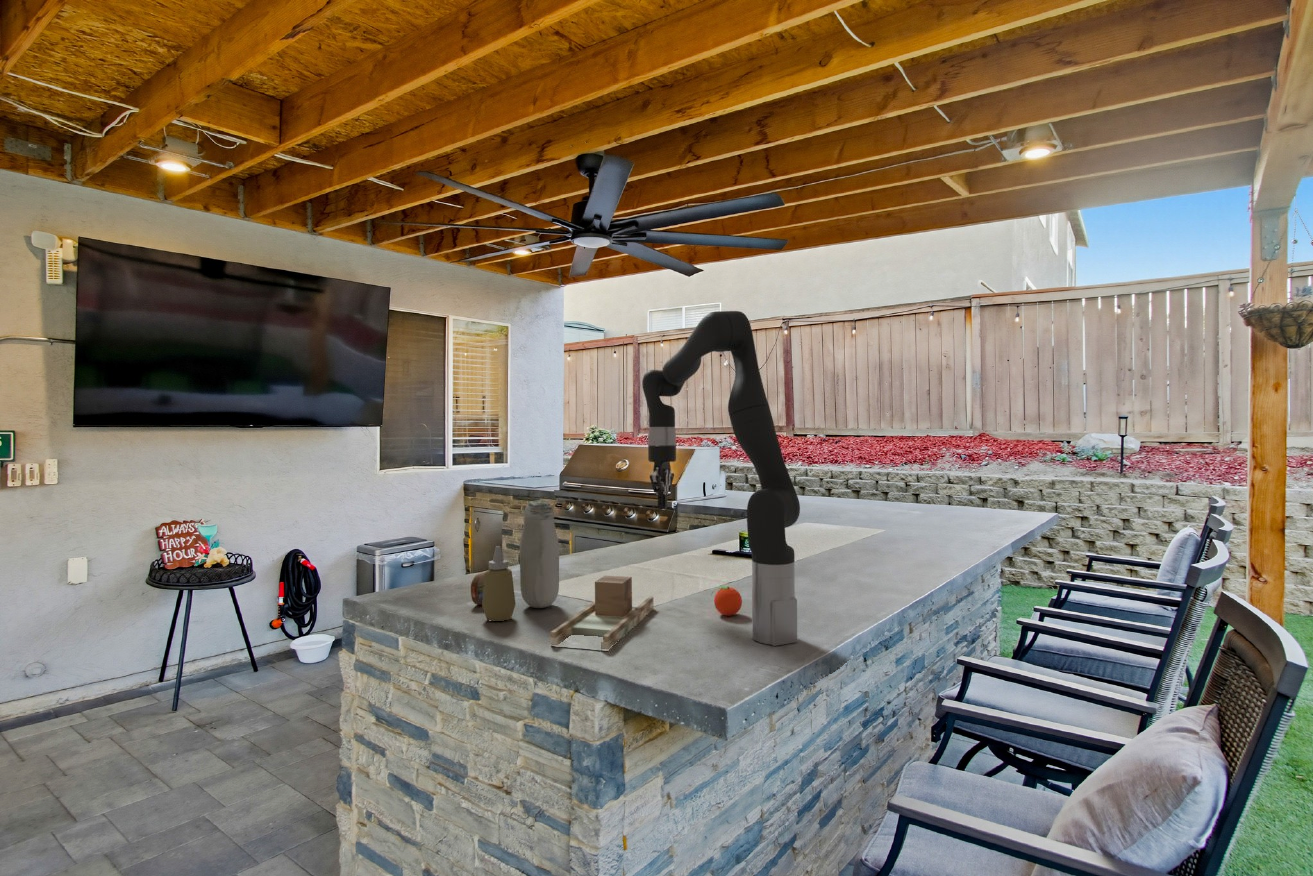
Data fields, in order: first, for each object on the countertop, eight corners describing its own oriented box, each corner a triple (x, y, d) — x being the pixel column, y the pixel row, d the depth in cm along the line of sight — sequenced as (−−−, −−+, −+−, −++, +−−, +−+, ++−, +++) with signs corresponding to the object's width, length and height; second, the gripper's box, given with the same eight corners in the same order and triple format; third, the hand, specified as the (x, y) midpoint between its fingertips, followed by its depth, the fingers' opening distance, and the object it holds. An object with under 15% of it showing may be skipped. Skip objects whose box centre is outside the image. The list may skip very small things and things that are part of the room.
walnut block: (605, 607, 168) (605, 575, 168) (632, 609, 166) (631, 576, 166) (595, 615, 162) (594, 581, 162) (622, 617, 160) (622, 583, 160)
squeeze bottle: (502, 613, 172) (501, 542, 171) (522, 618, 166) (521, 545, 166) (475, 620, 165) (474, 547, 165) (495, 626, 160) (494, 550, 160)
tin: (479, 609, 176) (478, 576, 176) (468, 608, 177) (468, 576, 177) (508, 595, 190) (508, 565, 190) (499, 594, 191) (498, 564, 191)
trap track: (606, 605, 177) (606, 593, 177) (653, 609, 174) (653, 596, 174) (550, 646, 145) (550, 631, 145) (607, 651, 141) (607, 636, 141)
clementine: (706, 616, 166) (705, 588, 166) (715, 609, 173) (715, 582, 173) (737, 620, 163) (736, 591, 163) (745, 613, 169) (745, 584, 169)
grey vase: (563, 609, 174) (562, 501, 174) (524, 613, 171) (522, 503, 170) (554, 600, 184) (553, 497, 183) (517, 604, 180) (515, 499, 179)
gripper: (657, 444, 189) (658, 506, 189) (639, 444, 177) (640, 510, 177) (683, 444, 187) (683, 507, 186) (666, 444, 174) (667, 511, 174)
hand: (662, 508), depth 182 cm, fingers closed
